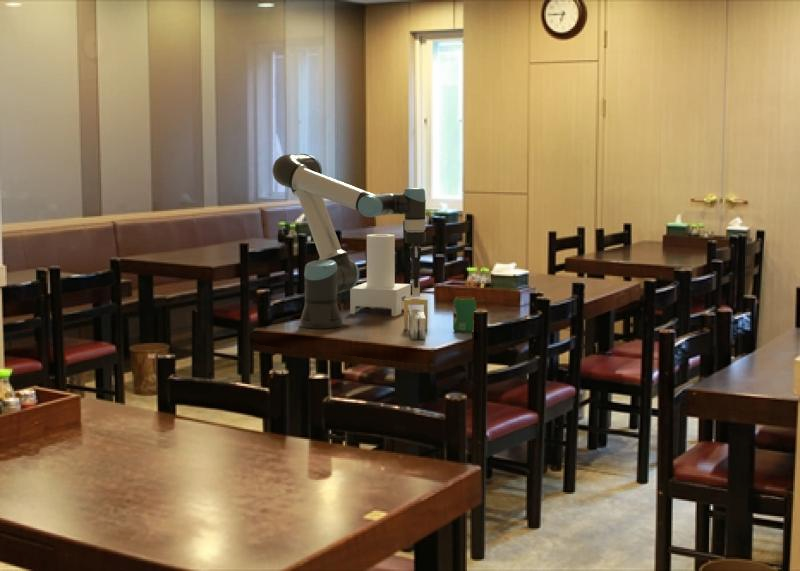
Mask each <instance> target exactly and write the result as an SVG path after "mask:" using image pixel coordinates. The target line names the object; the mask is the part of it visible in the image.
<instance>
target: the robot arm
mask: <svg viewBox="0 0 800 571" xmlns="http://www.w3.org/2000/svg"><path fill="white" fill-rule="evenodd" d="M272 176H273V178H274V180H275V181H276V183H277V184H279V185H280V186H283V187H286V188H289V189H291V193H292V195H293V196H295V197H297V198H298V201H299V202H300V206H301V209H302V211H303V214H304V216H305V221H306V222H307V225H308V228H309V231H310V233H311V236H312V239H313V241H314V242H313V243H314V244H315V247H316V250H317V252H318V255H319V259H318V260H312V261H309V262H307V263H306V264H305V266H304V273H303V276H304V307H303V309H302V313H301V316H300V322H299V323H300V324H299V326H300V327H302V328H306V329H316V330H317V329H319V330H320V329H334V328H339V327H342V326H343V319H342V315H341V313H340V312H341V311H340V309H339V306H338V294H339V293H345V292H349V291H350V289H352V288H353V287H355V286H357V283H358V281H359V280H360V270H359V267H358V265H357V264H356V262H354V261H353V260H351V259H350V258H349V253H348V252H347V251H346V250H344V249H342V247H341V244H340V241H339V239H338V235H337V234H336V230H335V226H334V225H333V222H332V219H331V216H330V214H329V211H328V208H327V205H326V202H325V200H326V199H327V200H329V201H330V202H334V203H336V204H339V205H342V206H344V207H347V208H349V209H352V210H354V211H357V212H360V214H361V216H364V217H366V218H375V217H379V216H386V215H388V216H389V215H404V230H405V232H404V241H405V243H408V244H409V243H411V246H410V247H409V252H410V259H411V276H410V280H411V293H412V294H411V298H412V297H415V298H418V297H420V298H421V287H420V286H421V285H420V284H421V283H420V279H421V278H422V275H421V274H420V270H421V269H420V268H421V267H420V266H421V263H420V261H421V257H422V256H421V255H422V254H421V253H422V247H421V246H420V243H426V241H427V232H426V231H425V230H426V227H427V226H426V225H428V222H427V221H426V219H427V218H426V205H427V204H426V203H427V199H426V191H425V189H424V188H422V187H406V188H405V189H404V192H403V193H389V192H387V193H386V192H382V193H380V192H379V193H376V194H374V193H372V192H369V191H366V190H364V189H361V188H358V187H356V186H353V185H351V184H348V183H345V182H343V181H339V180H337V179H335V178H332V177H329V176H326V175H324V174H323V168H322V165H321V162H320V161H319V160H318V159H317V158H316V157H315V156H314V155H311V154H307V153H306V154H305V153H299V154H297V153H296V154H284V155H283V154H282V155H281V156H279V157H278V158H277V159H276V160H275V161H274V163H273V166H272ZM324 199H325V200H324Z"/></svg>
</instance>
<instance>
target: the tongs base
mask: <svg viewBox="0 0 800 571" xmlns="http://www.w3.org/2000/svg"><path fill="white" fill-rule="evenodd" d="M409 311H416V312H417V311H424V309H409V310H408V312H409Z"/></svg>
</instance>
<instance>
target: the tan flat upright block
mask: <svg viewBox="0 0 800 571" xmlns="http://www.w3.org/2000/svg"><path fill="white" fill-rule="evenodd" d="M428 303H429V302H428V298H411V299H404V301H403V317H404V318H403V329H404V330H409V310H408V305H411V306H412V305H414V306H415V305H416V306H420V305H421V306H423V311H424V315H425V318H426V330H428V312H429V311H428V308H429V307H428V305H429V304H428Z"/></svg>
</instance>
